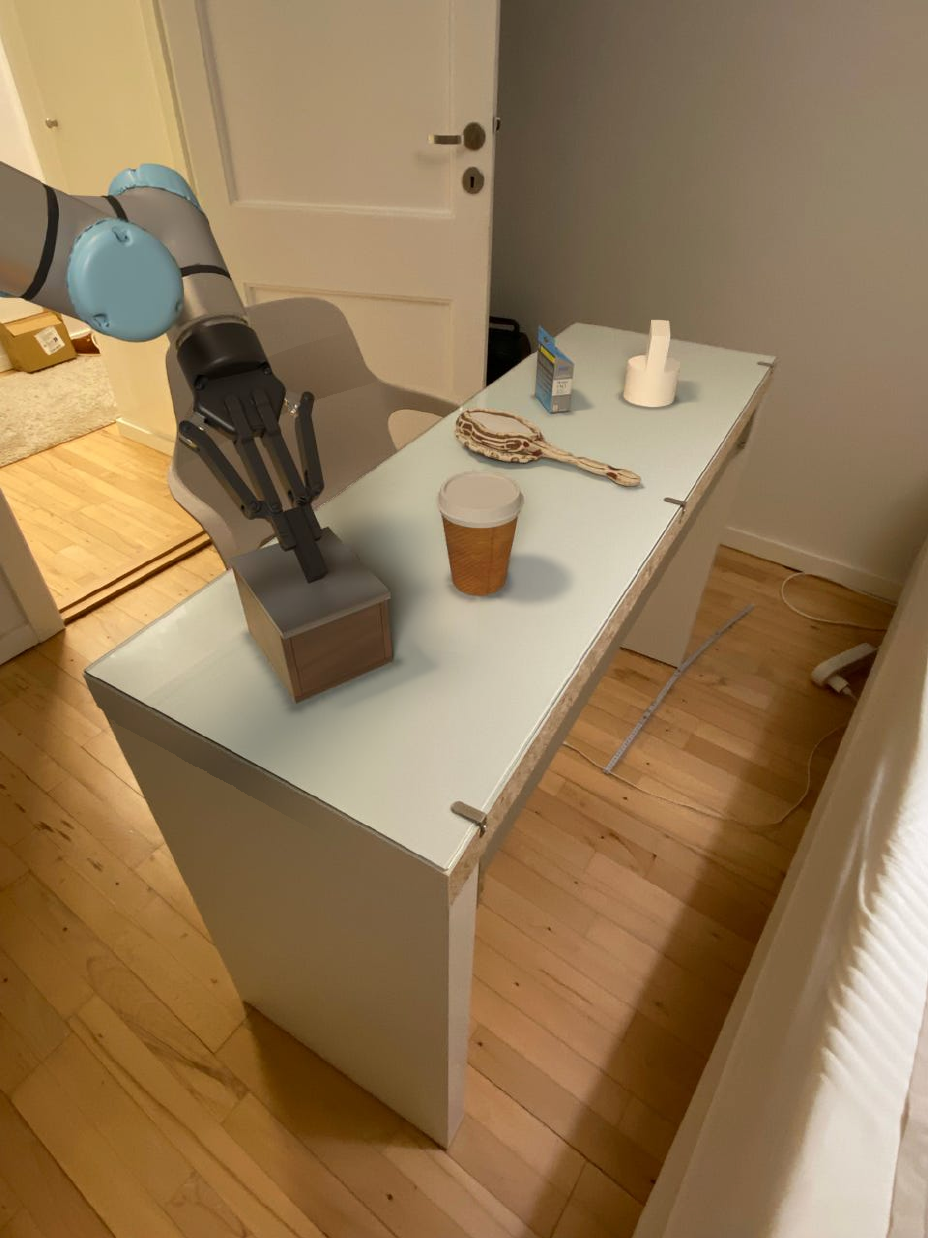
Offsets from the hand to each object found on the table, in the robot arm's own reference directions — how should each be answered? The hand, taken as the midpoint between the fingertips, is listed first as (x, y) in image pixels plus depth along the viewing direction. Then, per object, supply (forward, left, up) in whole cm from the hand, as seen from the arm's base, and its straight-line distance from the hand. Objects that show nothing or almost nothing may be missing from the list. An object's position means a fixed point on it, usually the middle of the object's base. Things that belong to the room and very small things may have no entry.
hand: (318, 577), depth 62 cm
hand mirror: (+30, +41, -11) cm, 52 cm away
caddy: (-2, +3, -11) cm, 11 cm away
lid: (-1, +2, -2) cm, 3 cm away
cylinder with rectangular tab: (+53, +65, -11) cm, 85 cm away
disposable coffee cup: (+16, +13, -11) cm, 24 cm away
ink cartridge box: (+35, +64, -11) cm, 74 cm away
